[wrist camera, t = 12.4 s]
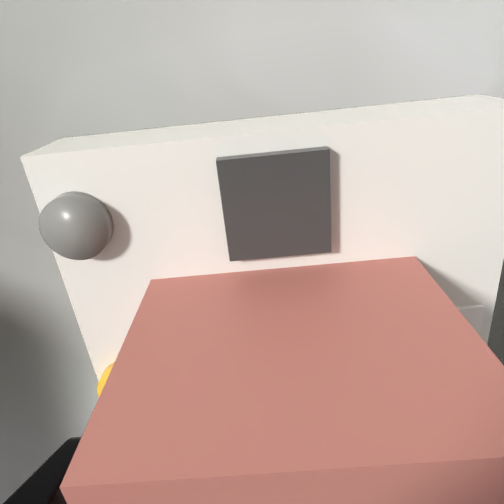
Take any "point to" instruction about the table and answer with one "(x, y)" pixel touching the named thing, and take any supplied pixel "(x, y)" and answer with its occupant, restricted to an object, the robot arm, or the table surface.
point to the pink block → (297, 394)
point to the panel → (275, 203)
